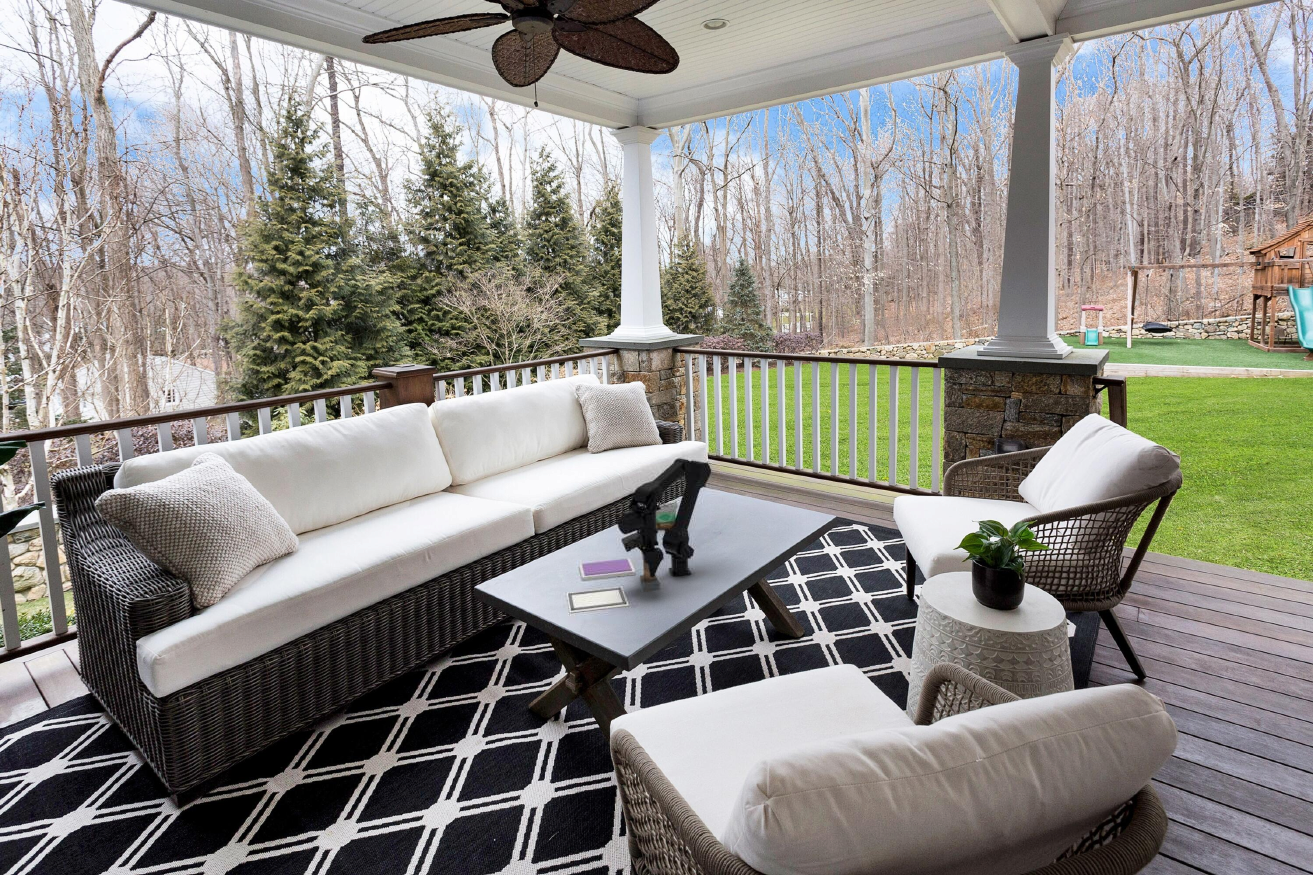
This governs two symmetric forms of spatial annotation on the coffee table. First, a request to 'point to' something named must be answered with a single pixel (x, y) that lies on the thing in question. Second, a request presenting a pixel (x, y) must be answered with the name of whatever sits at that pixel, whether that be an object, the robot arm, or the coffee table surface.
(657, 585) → the stamp
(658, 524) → the food container
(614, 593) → the marked board
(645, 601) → the coffee table surface
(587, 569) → the ink pad
